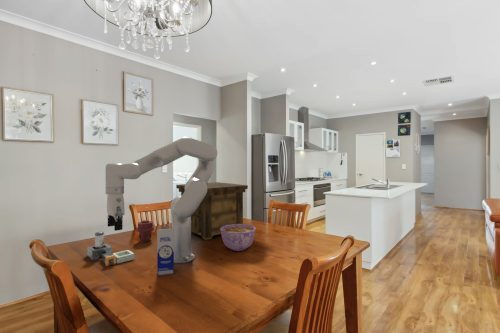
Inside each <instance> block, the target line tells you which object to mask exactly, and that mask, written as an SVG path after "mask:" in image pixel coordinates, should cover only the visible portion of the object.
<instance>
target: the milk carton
mask: <svg viewBox="0 0 500 333" xmlns="http://www.w3.org/2000/svg"><path fill="white" fill-rule="evenodd" d="M156 240H157V241H156V244H157V245H156V248H157V250H156V252H157V254H156V255H157V262H156V263H157V264H156V266H157V268H156V269H157V271H156V272H157V274H156V275H157V276H158V277H159V276H166V275H174V274H175V272H174V271H175V268H174V267H175V263H174V228H172V227H171V228H170V226H162V228H159V229H156Z"/></svg>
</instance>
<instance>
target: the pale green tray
mask: <svg viewBox="0 0 500 333" xmlns="http://www.w3.org/2000/svg"><path fill="white" fill-rule="evenodd" d="M112 255H115V256H116V264H121V263H125V262H129V261H134V260H136V258H135V253H134V252H133V251H131V250H129V249H126V250H121V251H118V252H112Z"/></svg>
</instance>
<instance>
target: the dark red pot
mask: <svg viewBox="0 0 500 333" xmlns="http://www.w3.org/2000/svg"><path fill="white" fill-rule="evenodd" d="M154 229H155V227H154V226H153V221H151V220H148V219H143V220H141V221H139V222H137V227H136V232H138V240H139V242H141V243H143V242H151V239H152V231H154Z"/></svg>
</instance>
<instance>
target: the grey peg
mask: <svg viewBox="0 0 500 333" xmlns="http://www.w3.org/2000/svg"><path fill="white" fill-rule="evenodd" d="M104 238H105V232H104V231H97V232H94V246H95V250H96V249H101V248H104V244H105V239H104ZM102 254H104V251H102V252H99V258H102Z"/></svg>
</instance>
